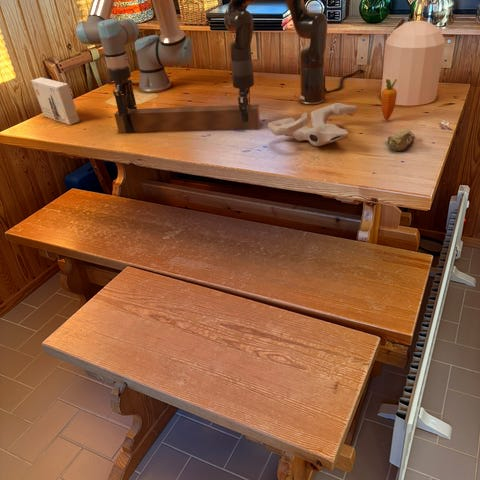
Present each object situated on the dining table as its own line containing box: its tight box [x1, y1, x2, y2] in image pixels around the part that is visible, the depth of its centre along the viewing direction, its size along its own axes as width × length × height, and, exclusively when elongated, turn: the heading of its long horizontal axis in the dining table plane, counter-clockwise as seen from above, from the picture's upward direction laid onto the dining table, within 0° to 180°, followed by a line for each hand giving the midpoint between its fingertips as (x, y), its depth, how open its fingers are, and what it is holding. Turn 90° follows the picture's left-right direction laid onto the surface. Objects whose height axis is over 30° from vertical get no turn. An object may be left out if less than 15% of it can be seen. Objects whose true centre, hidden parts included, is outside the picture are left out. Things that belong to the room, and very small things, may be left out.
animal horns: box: [267, 102, 358, 147], centre depth 155 cm, size 28×26×12 cm
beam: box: [114, 103, 261, 134], centre depth 174 cm, size 54×5×8 cm, turn 82°
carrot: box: [380, 79, 397, 122], centre depth 161 cm, size 5×5×15 cm
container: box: [380, 20, 446, 107], centre depth 176 cm, size 21×21×28 cm
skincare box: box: [30, 76, 81, 126], centre depth 193 cm, size 21×5×16 cm, turn 49°
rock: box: [387, 129, 416, 152], centre depth 146 cm, size 11×6×10 cm
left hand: (132, 128), depth 179 cm, fingers closed on beam, 5 cm apart
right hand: (246, 119), depth 171 cm, fingers closed on beam, 5 cm apart
